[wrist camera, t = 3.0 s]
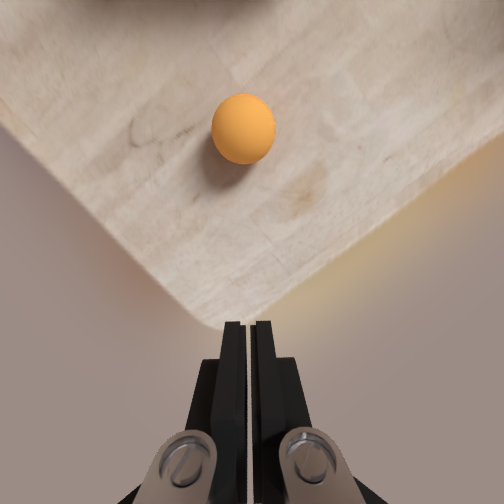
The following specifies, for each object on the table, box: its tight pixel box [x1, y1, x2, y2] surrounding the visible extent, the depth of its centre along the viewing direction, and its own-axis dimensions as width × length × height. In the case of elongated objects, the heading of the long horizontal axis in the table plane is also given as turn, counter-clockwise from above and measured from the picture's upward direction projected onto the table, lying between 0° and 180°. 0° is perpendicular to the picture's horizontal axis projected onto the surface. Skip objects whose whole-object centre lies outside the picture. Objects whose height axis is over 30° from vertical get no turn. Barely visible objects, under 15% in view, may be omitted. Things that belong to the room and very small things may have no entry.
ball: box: [212, 94, 275, 164], centre depth 20 cm, size 5×5×5 cm
